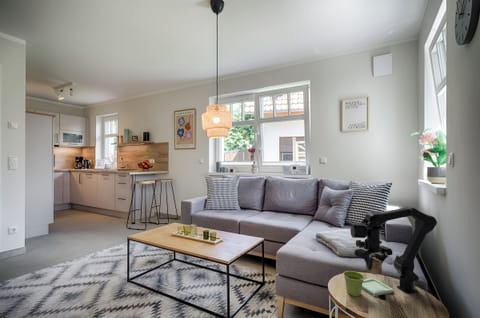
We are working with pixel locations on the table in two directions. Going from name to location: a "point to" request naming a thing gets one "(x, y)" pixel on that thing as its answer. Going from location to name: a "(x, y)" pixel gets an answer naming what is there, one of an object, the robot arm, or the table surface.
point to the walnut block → (375, 266)
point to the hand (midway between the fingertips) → (373, 269)
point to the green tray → (375, 287)
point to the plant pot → (353, 282)
